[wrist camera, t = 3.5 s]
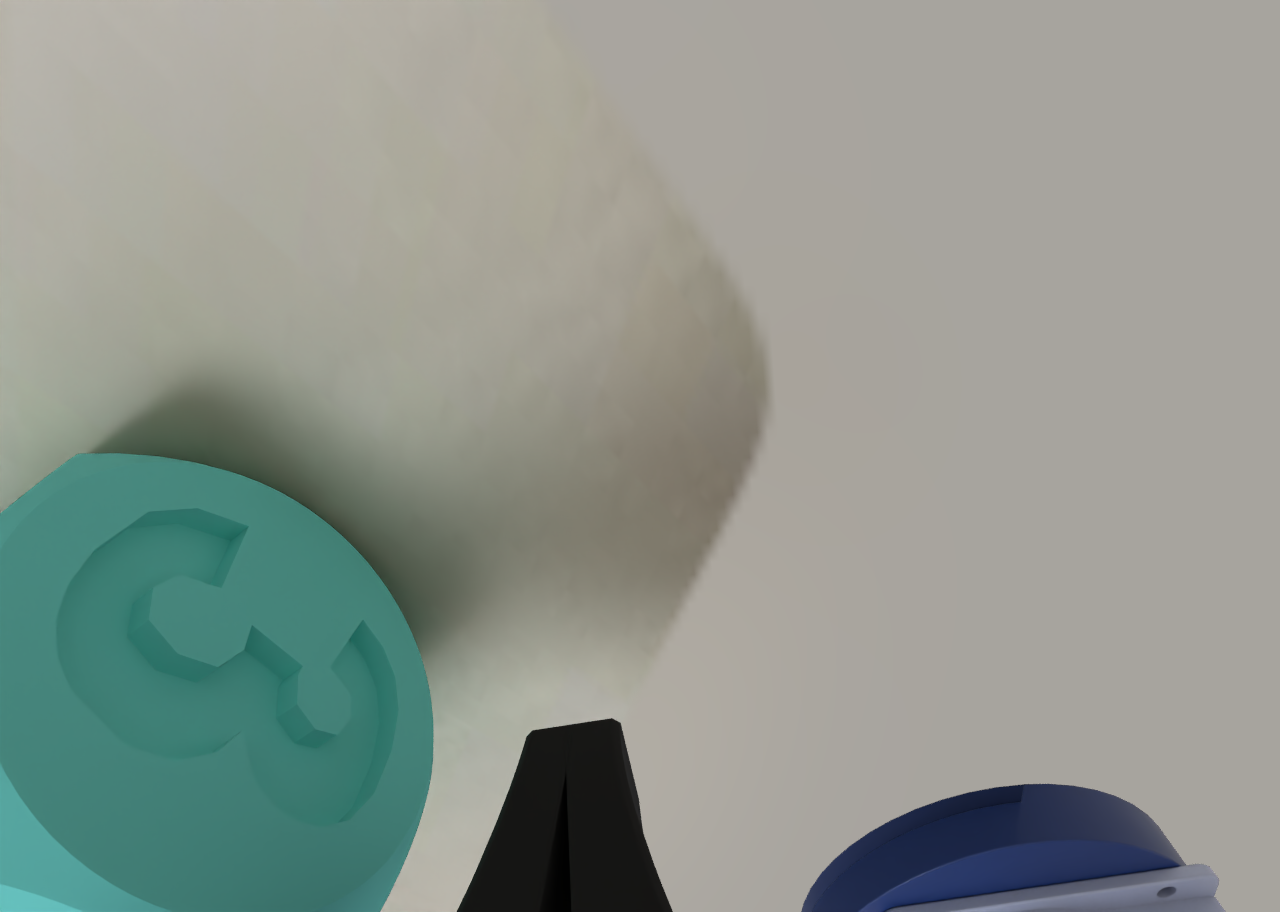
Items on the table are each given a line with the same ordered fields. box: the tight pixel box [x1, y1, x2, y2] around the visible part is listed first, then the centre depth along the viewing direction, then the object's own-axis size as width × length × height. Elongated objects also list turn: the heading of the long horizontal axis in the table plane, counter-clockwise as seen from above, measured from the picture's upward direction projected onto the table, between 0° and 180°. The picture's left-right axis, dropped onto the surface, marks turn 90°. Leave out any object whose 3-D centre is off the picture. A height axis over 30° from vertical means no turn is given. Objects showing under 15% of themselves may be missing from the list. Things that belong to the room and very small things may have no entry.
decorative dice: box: [0, 453, 433, 912], centre depth 13 cm, size 8×8×8 cm
